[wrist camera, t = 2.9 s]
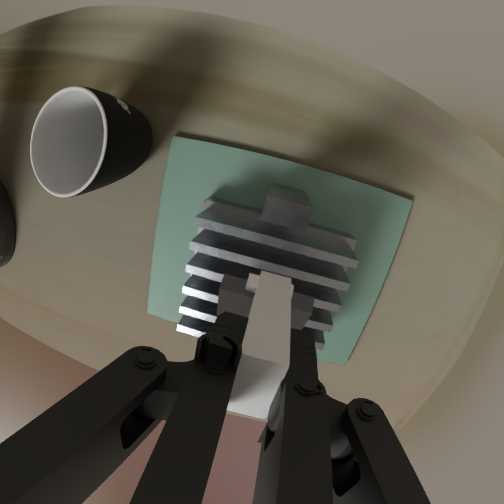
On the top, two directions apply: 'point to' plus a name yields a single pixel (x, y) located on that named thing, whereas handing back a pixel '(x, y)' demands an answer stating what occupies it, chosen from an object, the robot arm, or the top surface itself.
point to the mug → (87, 141)
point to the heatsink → (266, 256)
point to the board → (254, 194)
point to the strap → (242, 294)
